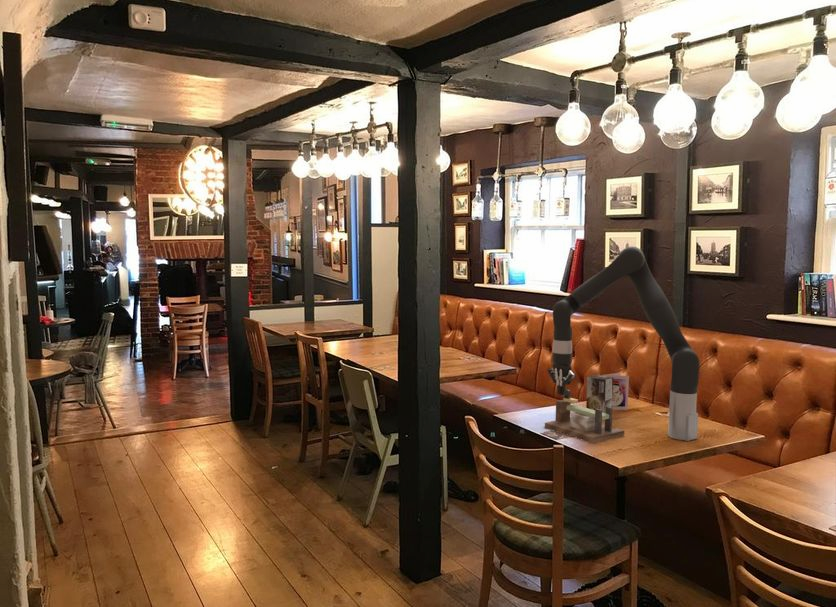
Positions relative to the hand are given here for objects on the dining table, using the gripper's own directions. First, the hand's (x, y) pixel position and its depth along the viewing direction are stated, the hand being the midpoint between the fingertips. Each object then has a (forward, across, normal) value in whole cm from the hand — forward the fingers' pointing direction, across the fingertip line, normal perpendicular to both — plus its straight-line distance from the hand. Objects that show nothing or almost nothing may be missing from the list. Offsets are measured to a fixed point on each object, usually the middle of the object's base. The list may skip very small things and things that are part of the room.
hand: (561, 394), depth 261 cm
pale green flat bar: (+5, +13, 0) cm, 14 cm away
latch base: (+12, +12, 0) cm, 17 cm away
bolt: (+2, +5, 0) cm, 5 cm away
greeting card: (+12, -5, +39) cm, 41 cm away
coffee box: (+12, -1, +25) cm, 28 cm away
